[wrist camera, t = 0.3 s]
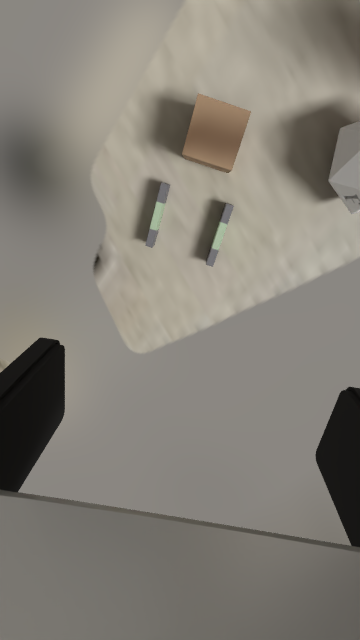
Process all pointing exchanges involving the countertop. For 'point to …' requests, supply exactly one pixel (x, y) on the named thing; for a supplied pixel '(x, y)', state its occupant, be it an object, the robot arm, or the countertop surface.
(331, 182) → the die
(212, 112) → the walnut block
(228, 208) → the grey blocks
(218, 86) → the countertop surface
